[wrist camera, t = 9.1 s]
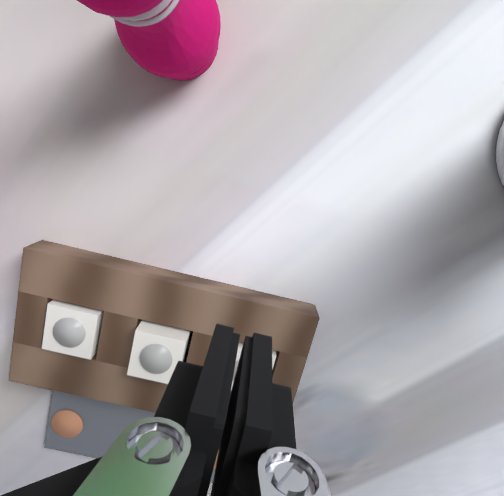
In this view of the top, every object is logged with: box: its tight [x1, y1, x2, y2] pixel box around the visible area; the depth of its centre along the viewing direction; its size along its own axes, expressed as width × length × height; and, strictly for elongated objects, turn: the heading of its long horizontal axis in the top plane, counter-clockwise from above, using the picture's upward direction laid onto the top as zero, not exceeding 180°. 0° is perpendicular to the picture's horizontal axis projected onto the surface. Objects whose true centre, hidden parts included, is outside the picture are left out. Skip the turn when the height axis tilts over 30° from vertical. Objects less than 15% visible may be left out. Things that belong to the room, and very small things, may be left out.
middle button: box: [127, 320, 191, 384], centre depth 35 cm, size 4×4×3 cm
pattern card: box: [44, 390, 219, 483], centre depth 41 cm, size 20×7×1 cm, turn 76°
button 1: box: [42, 299, 104, 360], centre depth 36 cm, size 4×4×3 cm
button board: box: [9, 240, 319, 413], centre depth 37 cm, size 26×13×3 cm, turn 76°
